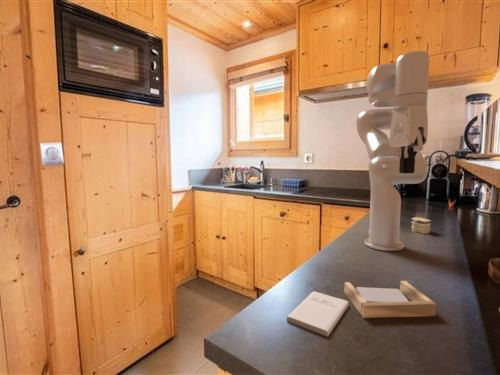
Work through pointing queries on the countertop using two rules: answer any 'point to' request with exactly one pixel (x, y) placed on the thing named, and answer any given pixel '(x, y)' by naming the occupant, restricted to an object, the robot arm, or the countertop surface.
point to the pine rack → (393, 303)
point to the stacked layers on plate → (420, 225)
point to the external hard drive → (318, 313)
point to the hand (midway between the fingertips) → (406, 172)
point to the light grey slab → (381, 294)
